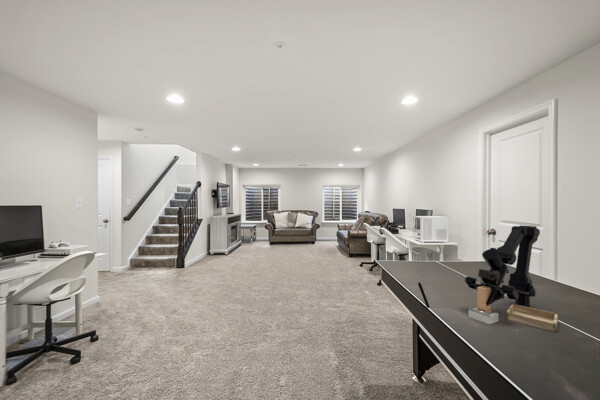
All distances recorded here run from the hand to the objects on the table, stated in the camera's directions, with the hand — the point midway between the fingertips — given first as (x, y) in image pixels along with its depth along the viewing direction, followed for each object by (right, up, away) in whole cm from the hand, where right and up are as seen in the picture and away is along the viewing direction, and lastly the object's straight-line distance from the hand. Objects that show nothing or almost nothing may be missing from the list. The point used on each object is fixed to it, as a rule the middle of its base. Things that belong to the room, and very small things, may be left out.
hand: (482, 303), depth 110 cm
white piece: (+1, -7, 0) cm, 7 cm away
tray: (+20, -7, -1) cm, 21 cm away
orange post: (+1, -6, 0) cm, 7 cm away
